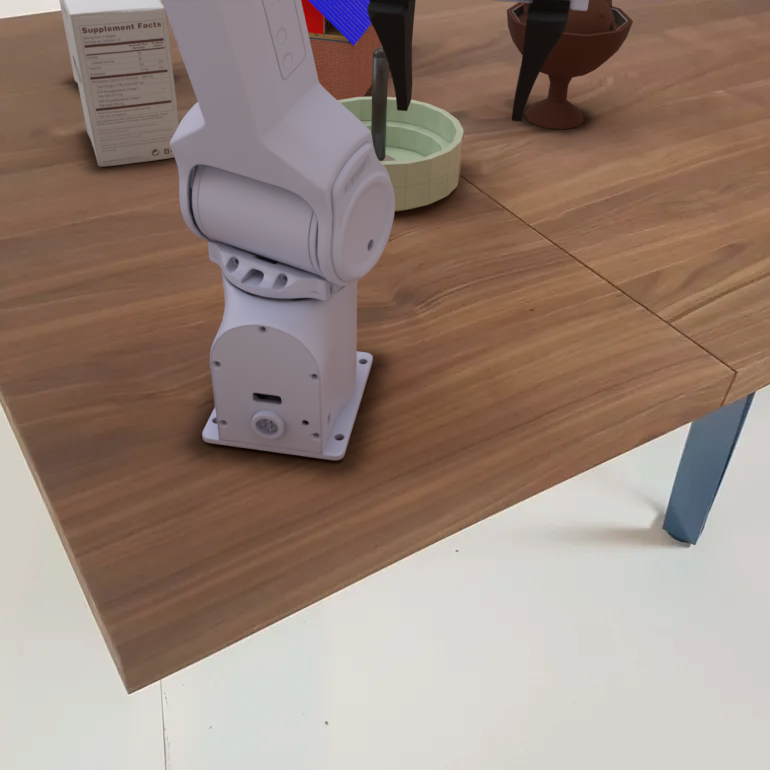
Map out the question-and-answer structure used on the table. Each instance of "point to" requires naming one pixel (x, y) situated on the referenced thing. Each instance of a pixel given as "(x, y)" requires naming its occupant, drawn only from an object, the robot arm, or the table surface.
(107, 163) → the white packaging box
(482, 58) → the table surface
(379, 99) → the pen in desk stand
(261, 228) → the robot arm
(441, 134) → the bowl
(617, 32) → the ice cream bowl
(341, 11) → the house
